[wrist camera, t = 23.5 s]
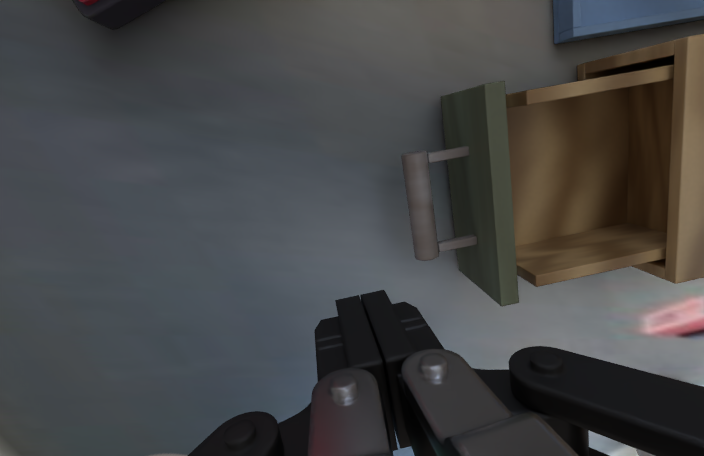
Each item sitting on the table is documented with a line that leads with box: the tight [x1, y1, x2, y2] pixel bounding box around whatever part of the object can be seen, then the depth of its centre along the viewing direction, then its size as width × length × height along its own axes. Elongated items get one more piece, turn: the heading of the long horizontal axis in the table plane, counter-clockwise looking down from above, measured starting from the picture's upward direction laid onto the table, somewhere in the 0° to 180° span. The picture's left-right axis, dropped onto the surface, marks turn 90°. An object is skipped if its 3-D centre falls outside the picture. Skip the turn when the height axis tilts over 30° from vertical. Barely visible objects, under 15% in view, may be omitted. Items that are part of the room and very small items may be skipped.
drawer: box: [401, 65, 674, 306], centre depth 26 cm, size 19×13×7 cm
